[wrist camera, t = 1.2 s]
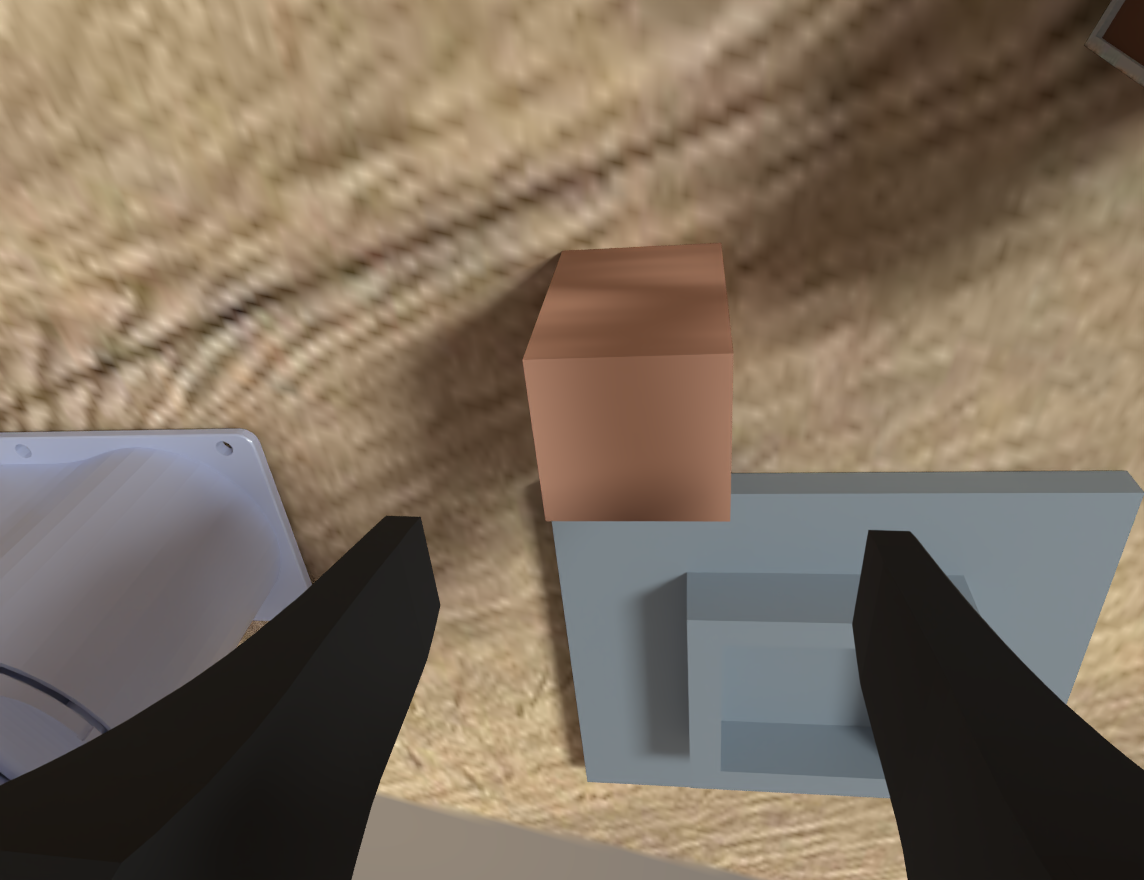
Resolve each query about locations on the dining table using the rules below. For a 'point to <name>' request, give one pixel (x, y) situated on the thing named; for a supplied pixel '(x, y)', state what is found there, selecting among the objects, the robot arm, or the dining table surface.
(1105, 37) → the food container
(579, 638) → the base board
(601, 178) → the dining table surface
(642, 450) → the terracotta block
